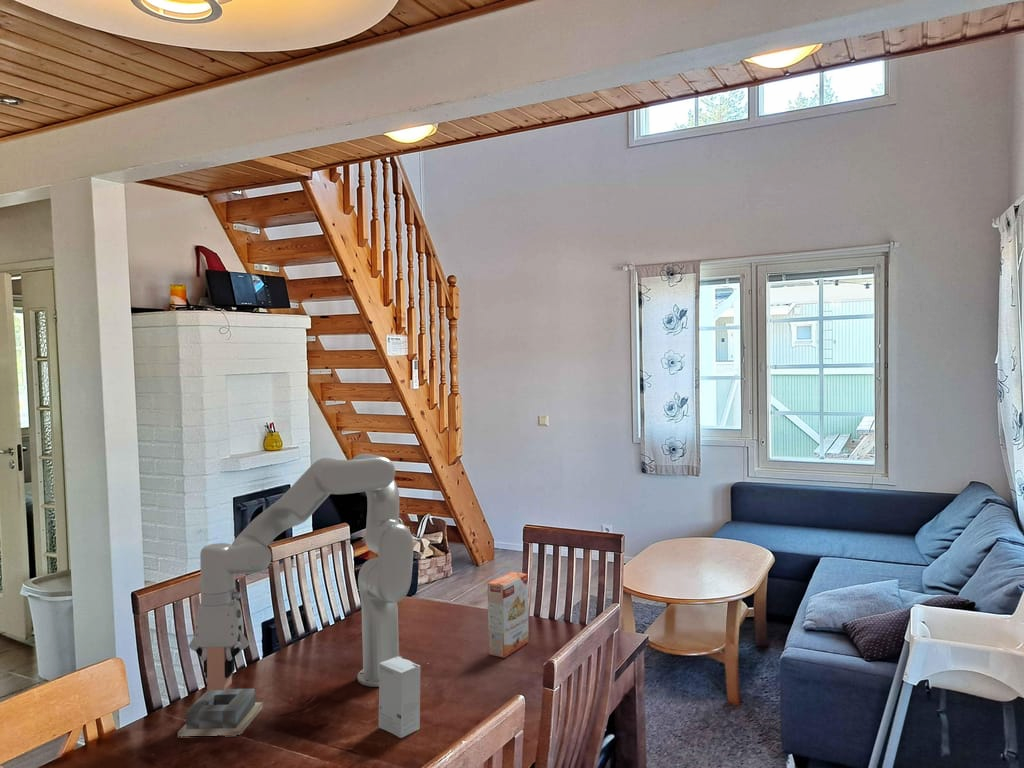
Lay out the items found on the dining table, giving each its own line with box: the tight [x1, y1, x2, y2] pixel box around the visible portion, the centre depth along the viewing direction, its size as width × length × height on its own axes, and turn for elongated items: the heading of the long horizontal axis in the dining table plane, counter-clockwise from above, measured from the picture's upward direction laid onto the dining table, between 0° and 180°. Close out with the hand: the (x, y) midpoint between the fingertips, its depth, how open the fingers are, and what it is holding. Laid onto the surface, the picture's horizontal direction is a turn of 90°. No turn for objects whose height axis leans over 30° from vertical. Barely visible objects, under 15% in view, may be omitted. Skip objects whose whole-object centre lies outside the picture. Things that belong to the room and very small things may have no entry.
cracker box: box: [487, 571, 530, 659], centre depth 203 cm, size 14×6×21 cm, turn 148°
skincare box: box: [378, 657, 421, 739], centre depth 157 cm, size 8×6×15 cm
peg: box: [206, 647, 233, 691], centre depth 163 cm, size 4×4×10 cm
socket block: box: [177, 688, 264, 738], centre depth 163 cm, size 14×14×5 cm
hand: (219, 674), depth 163 cm, fingers closed on peg, 4 cm apart
